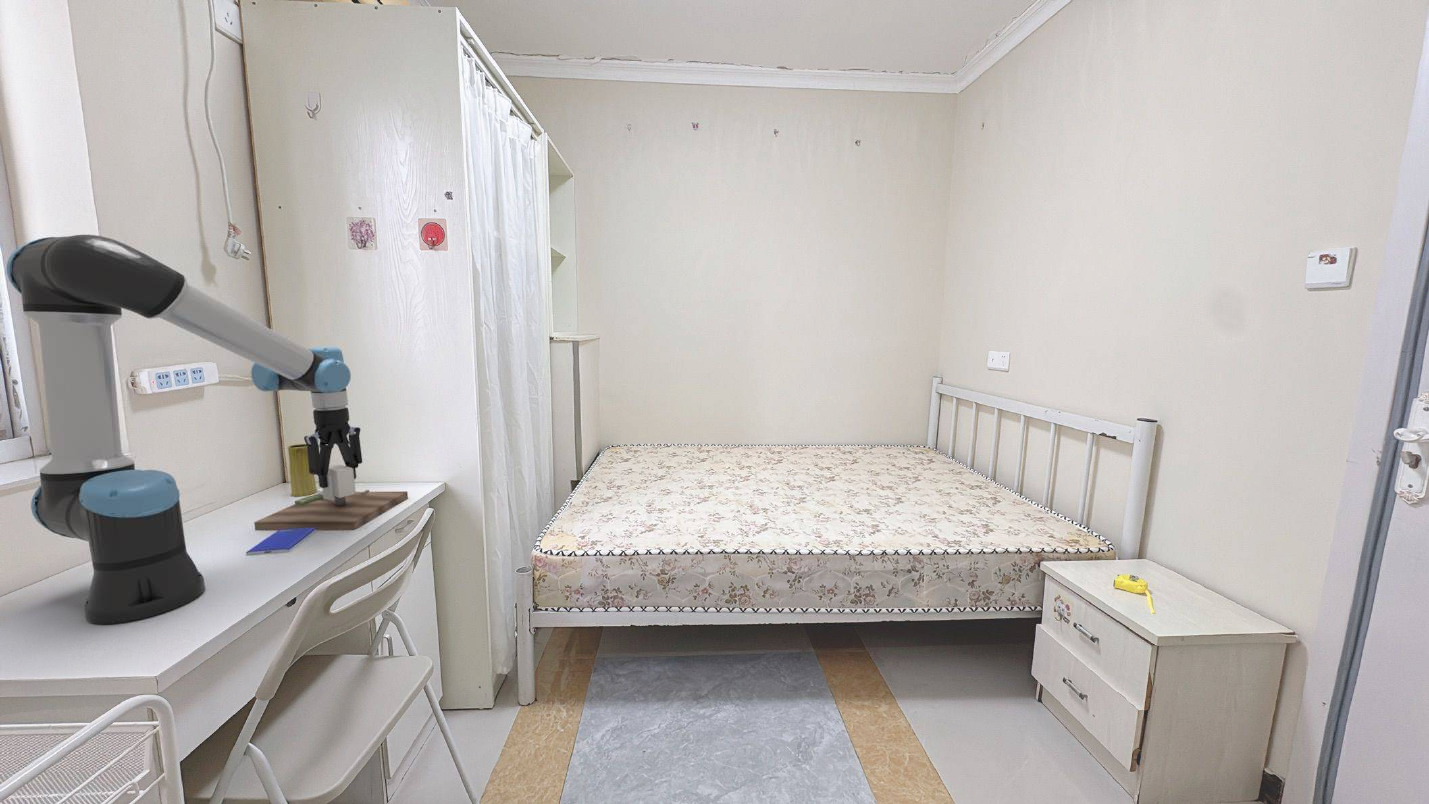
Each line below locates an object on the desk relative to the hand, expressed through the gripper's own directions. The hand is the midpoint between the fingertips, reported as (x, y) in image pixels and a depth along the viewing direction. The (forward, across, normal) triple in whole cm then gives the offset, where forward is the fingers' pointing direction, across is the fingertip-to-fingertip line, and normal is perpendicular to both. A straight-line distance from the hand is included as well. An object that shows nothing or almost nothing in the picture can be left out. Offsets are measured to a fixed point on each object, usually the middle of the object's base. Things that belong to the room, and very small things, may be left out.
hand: (339, 495), depth 147 cm
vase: (+5, -9, -26) cm, 28 cm away
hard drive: (+6, +19, +6) cm, 21 cm away
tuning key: (+2, -1, -4) cm, 4 cm away
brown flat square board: (+5, 0, -1) cm, 5 cm away
